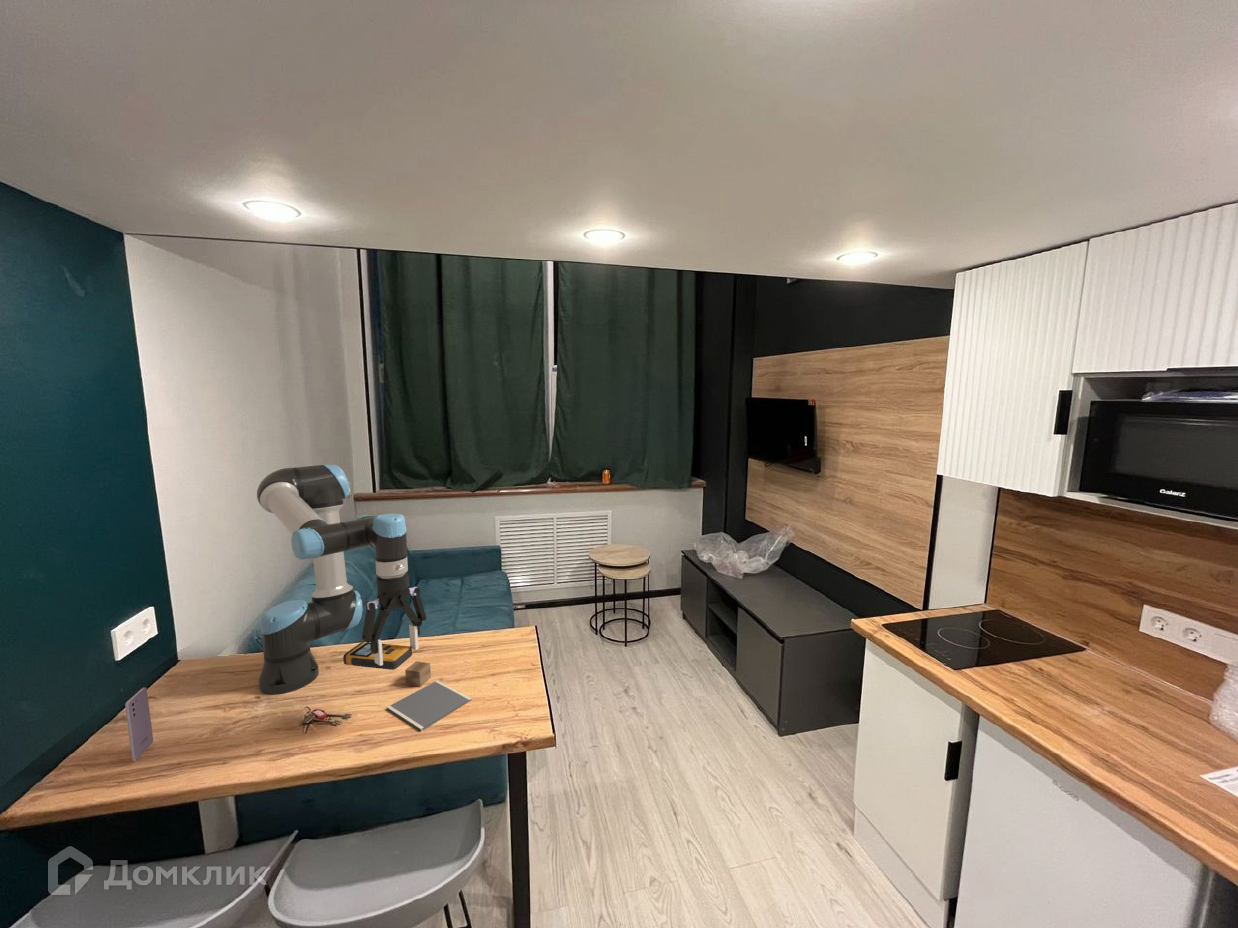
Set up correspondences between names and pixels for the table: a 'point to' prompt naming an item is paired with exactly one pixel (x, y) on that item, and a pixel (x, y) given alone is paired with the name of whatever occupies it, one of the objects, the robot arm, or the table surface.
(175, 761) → the table surface
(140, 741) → the smartphone
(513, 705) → the table surface
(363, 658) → the electronic device
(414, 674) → the walnut block
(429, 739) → the table surface
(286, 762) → the table surface
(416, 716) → the mat
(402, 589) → the robot arm
